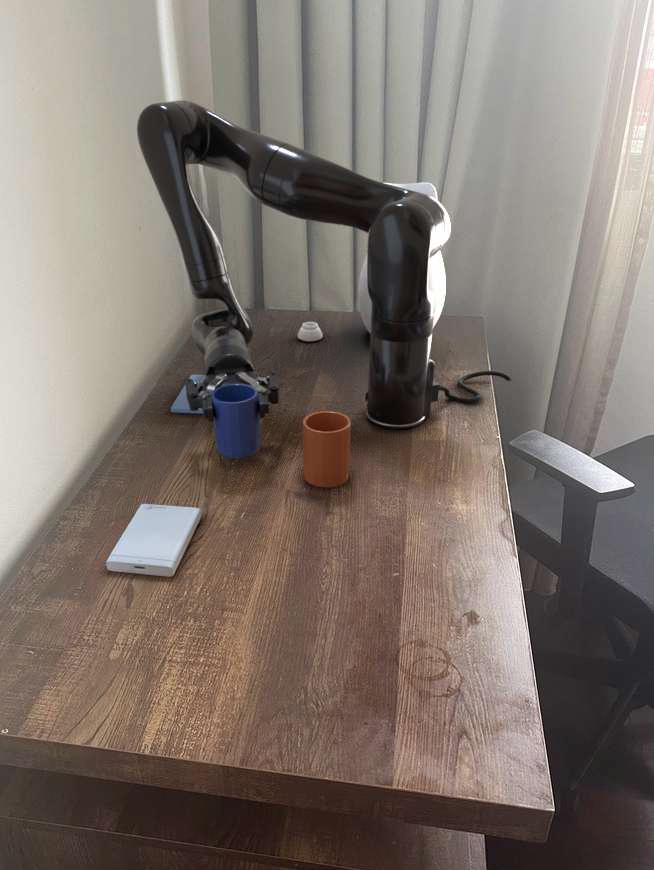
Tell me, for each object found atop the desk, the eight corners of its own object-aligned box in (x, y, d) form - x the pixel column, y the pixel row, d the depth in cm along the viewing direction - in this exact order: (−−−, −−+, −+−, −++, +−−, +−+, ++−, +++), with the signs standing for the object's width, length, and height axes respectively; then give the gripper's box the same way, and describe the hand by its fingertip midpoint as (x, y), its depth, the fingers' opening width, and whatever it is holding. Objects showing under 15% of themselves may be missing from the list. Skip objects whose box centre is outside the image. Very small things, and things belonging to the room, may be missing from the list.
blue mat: (191, 378, 134) (191, 374, 134) (256, 380, 132) (256, 376, 132) (170, 412, 123) (170, 408, 122) (241, 415, 121) (241, 411, 120)
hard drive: (140, 502, 97) (105, 559, 86) (201, 507, 95) (172, 566, 85) (142, 513, 97) (107, 571, 87) (202, 518, 96) (173, 577, 86)
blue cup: (251, 433, 110) (248, 380, 106) (267, 452, 105) (264, 397, 101) (210, 442, 108) (205, 388, 104) (224, 461, 103) (219, 406, 99)
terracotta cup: (336, 460, 108) (337, 407, 103) (356, 481, 103) (358, 427, 98) (296, 469, 106) (295, 416, 101) (314, 491, 101) (314, 436, 96)
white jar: (293, 341, 148) (316, 344, 147) (293, 326, 147) (316, 330, 145) (303, 332, 152) (326, 335, 150) (303, 318, 151) (326, 321, 149)
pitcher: (358, 320, 158) (363, 180, 142) (439, 322, 155) (453, 180, 140) (352, 363, 138) (357, 206, 123) (444, 366, 136) (461, 207, 120)
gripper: (179, 347, 113) (181, 392, 99) (273, 340, 114) (288, 383, 100) (184, 392, 117) (187, 442, 103) (275, 385, 118) (289, 433, 104)
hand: (236, 413), depth 101 cm, fingers closed on blue cup, 6 cm apart
